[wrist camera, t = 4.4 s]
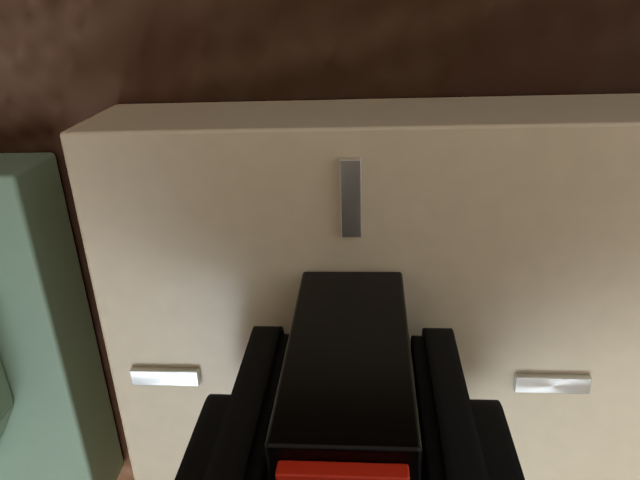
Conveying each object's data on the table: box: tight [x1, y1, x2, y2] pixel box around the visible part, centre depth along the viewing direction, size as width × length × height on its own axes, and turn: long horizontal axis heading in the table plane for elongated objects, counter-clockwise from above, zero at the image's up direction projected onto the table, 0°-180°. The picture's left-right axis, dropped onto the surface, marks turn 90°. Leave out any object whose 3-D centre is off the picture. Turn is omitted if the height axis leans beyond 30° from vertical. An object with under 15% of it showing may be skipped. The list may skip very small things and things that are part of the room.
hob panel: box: [60, 93, 640, 480], centre depth 13 cm, size 13×11×3 cm
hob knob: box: [265, 272, 422, 480], centre depth 10 cm, size 5×2×5 cm, turn 2°
